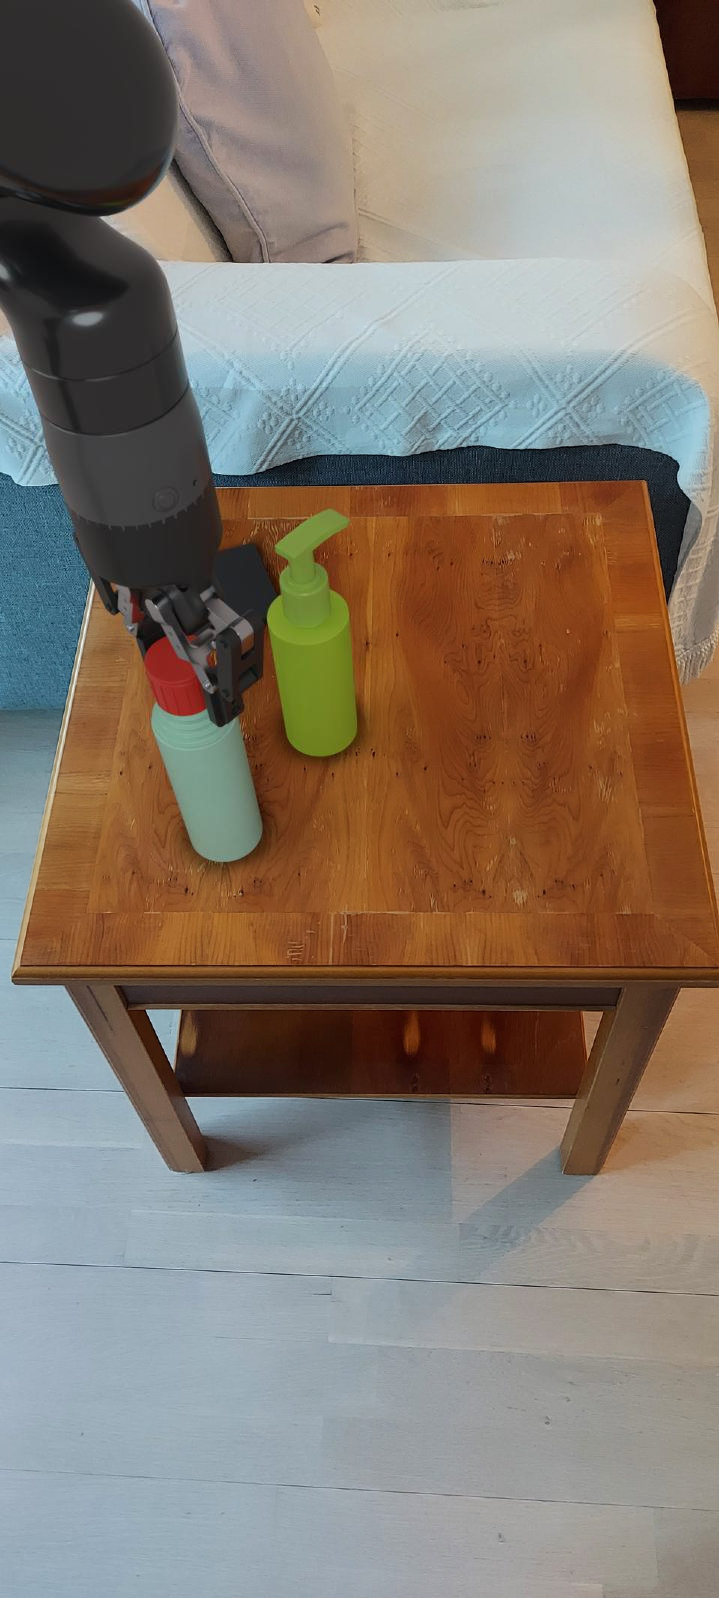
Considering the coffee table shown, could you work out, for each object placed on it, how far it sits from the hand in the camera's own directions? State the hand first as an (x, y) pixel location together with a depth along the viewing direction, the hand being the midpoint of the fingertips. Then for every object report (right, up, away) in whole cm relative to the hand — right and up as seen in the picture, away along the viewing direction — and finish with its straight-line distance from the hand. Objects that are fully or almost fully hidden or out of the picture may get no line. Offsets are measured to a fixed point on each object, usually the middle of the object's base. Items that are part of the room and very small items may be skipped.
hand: (195, 691), depth 64 cm
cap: (0, 0, 0) cm, 0 cm away
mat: (-3, +12, +28) cm, 30 cm away
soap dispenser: (+8, -1, +19) cm, 20 cm away
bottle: (0, -9, +13) cm, 16 cm away
